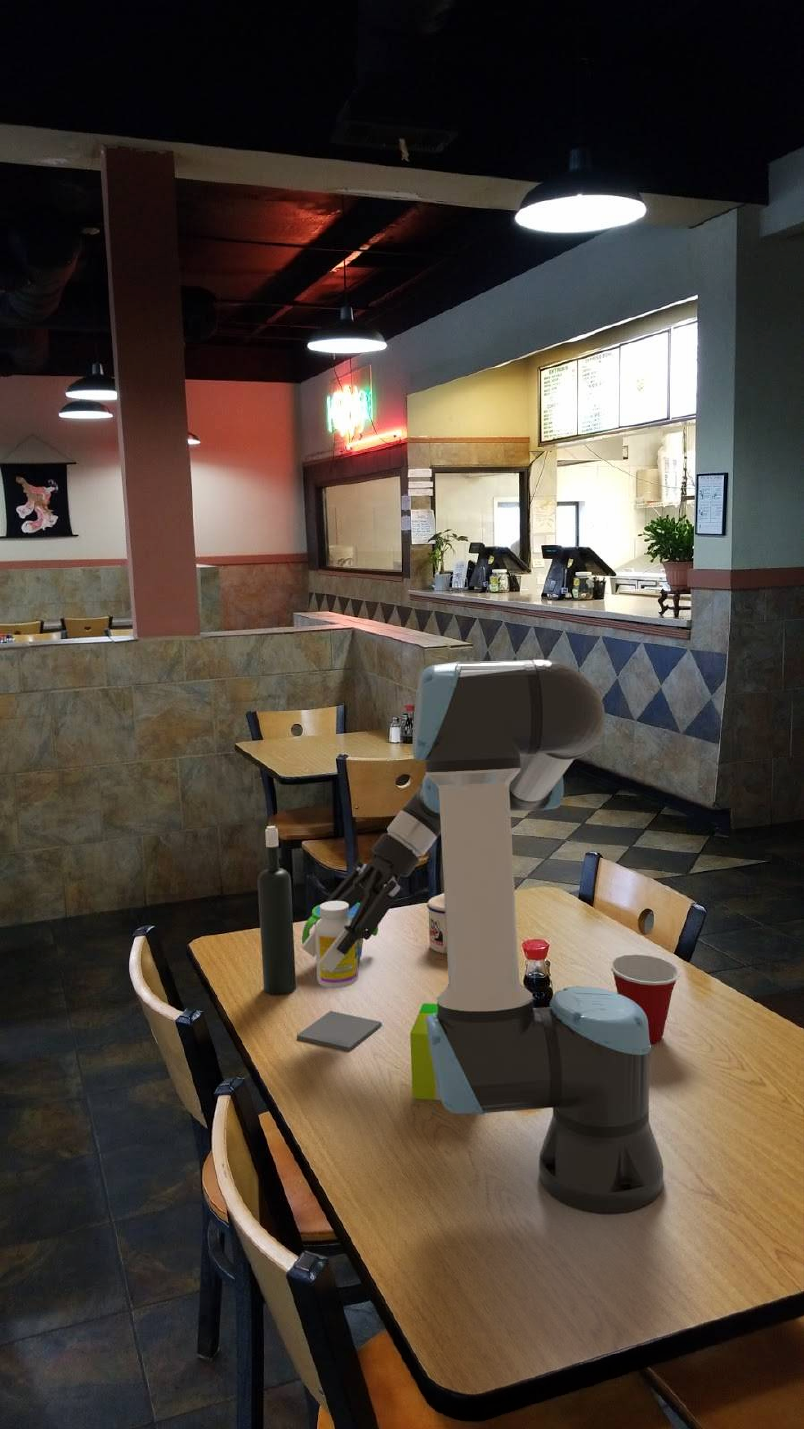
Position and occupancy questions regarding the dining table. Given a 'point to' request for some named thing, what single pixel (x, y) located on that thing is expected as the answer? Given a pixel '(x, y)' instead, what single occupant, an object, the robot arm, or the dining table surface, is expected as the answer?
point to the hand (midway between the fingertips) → (316, 959)
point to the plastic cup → (647, 987)
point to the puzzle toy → (423, 1057)
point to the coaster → (339, 1030)
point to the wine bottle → (276, 922)
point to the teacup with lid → (437, 924)
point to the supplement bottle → (325, 935)
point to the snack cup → (317, 916)
